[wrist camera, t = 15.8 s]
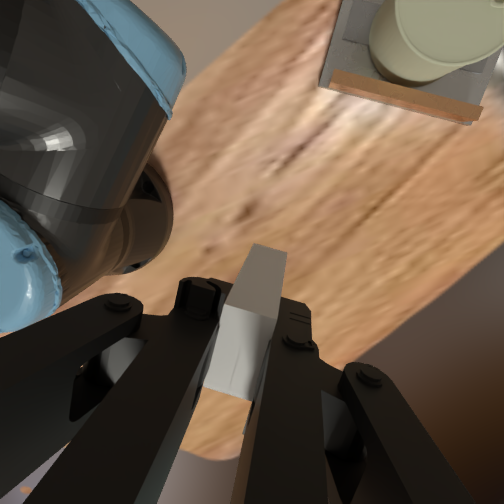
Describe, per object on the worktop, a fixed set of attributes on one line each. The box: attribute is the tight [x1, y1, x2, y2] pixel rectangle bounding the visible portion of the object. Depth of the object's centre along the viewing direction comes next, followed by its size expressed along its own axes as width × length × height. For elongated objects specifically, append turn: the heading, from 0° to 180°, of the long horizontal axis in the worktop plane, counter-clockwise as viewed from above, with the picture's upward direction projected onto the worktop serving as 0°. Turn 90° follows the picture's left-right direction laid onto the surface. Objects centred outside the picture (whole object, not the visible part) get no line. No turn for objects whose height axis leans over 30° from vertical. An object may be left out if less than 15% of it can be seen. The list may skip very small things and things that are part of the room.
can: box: [369, 0, 504, 87], centre depth 32 cm, size 9×9×12 cm
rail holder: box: [318, 0, 503, 126], centre depth 37 cm, size 16×13×5 cm
